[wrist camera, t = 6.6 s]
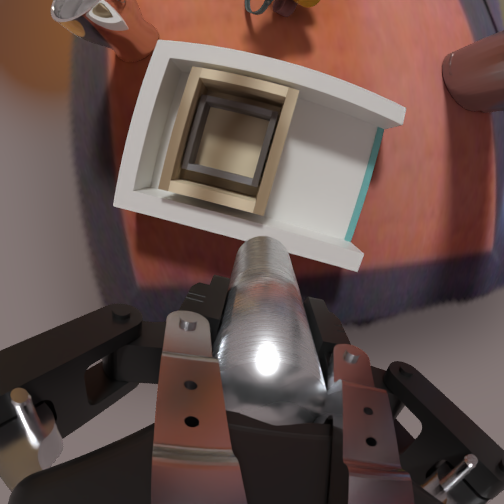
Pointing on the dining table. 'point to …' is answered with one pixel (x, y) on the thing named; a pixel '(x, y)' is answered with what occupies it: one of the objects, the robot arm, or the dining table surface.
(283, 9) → the binoculars
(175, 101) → the bay
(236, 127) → the box
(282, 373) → the handle peg
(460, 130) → the dining table surface
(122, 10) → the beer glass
